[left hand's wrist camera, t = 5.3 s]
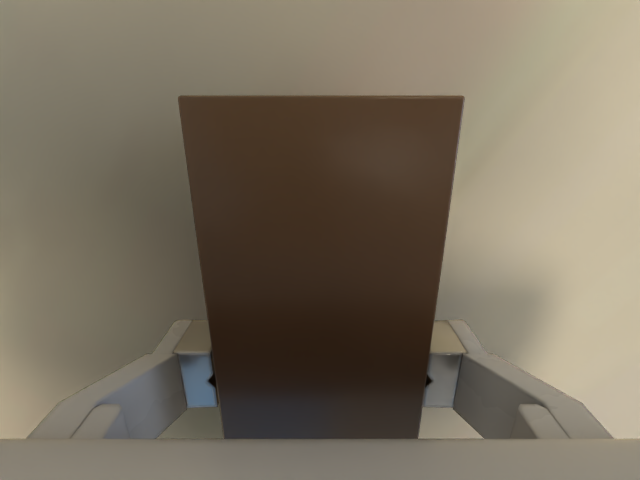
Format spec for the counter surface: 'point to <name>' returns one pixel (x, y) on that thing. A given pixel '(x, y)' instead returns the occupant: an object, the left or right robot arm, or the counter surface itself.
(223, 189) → the beam
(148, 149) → the counter surface
